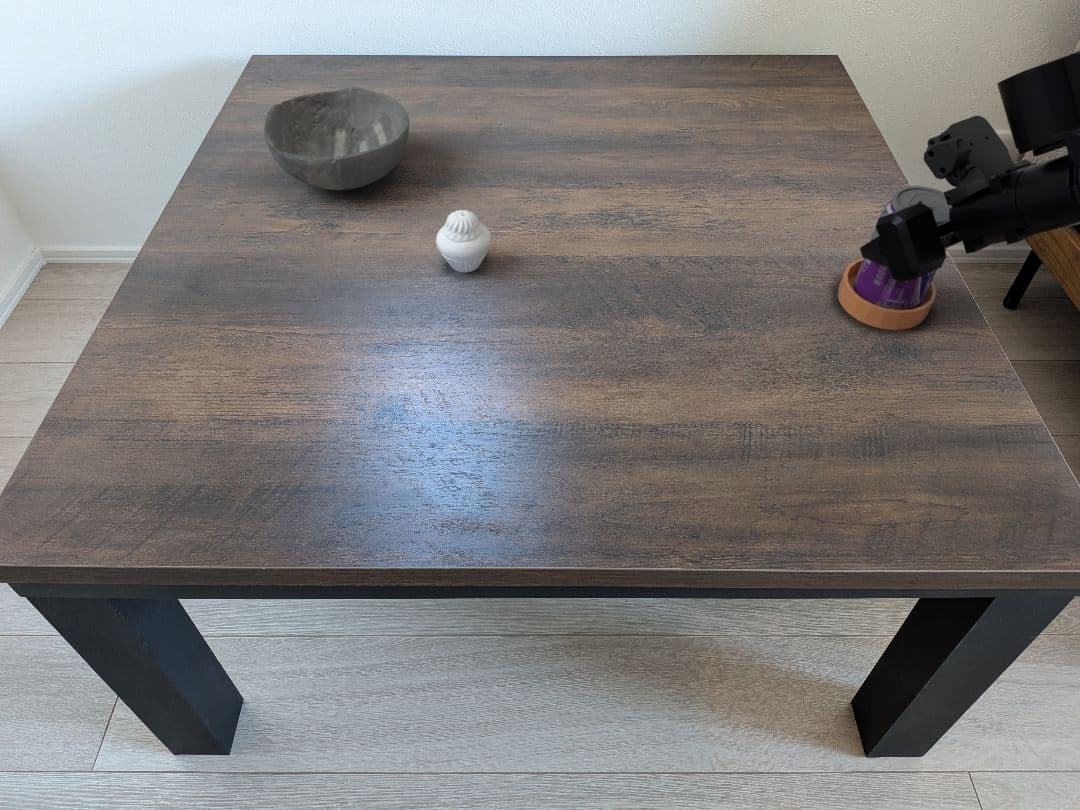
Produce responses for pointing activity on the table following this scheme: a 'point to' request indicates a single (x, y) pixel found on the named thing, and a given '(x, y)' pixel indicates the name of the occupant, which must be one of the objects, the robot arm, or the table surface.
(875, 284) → the beverage can
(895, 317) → the terracotta bowl
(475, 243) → the muffin
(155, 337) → the table surface
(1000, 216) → the robot arm
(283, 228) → the table surface
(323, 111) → the bowl
